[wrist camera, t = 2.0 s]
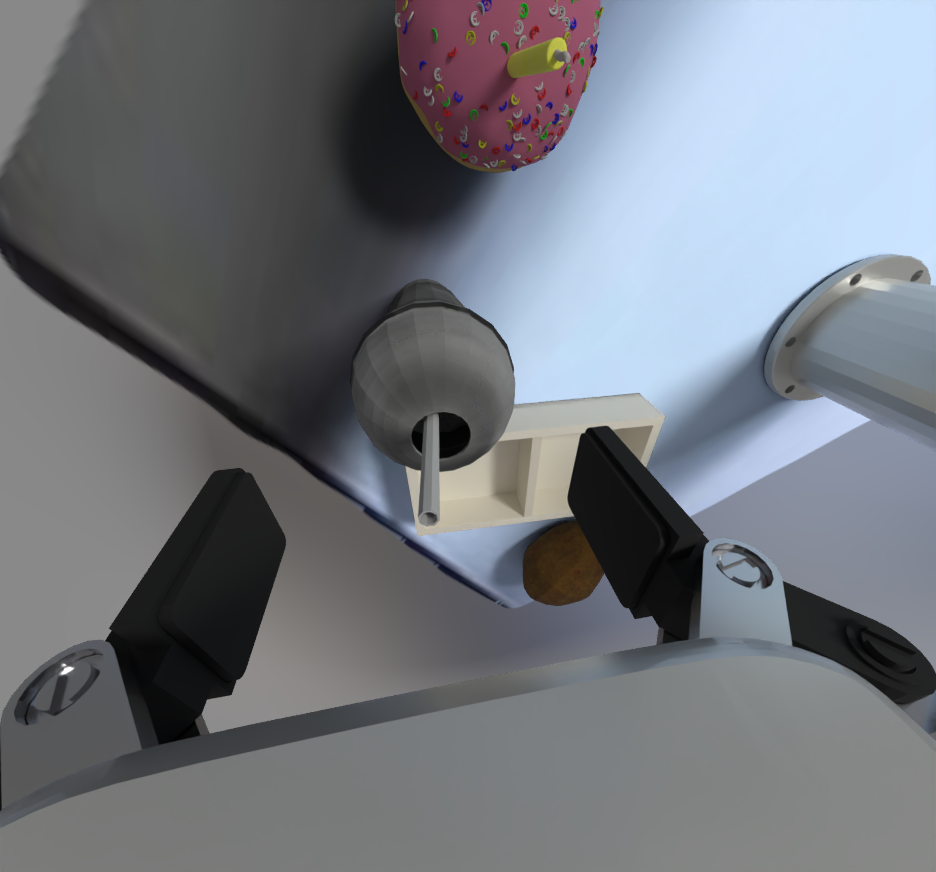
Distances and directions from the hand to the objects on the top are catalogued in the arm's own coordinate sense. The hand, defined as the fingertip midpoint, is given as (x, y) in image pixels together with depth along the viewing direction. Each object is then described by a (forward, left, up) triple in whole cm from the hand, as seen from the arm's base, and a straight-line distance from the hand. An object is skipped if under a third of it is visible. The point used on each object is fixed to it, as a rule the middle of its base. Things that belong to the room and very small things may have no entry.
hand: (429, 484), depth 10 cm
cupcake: (-5, -12, -18) cm, 22 cm away
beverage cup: (-1, 0, -18) cm, 18 cm away
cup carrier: (-9, +14, -18) cm, 24 cm away
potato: (-14, +29, -18) cm, 37 cm away
